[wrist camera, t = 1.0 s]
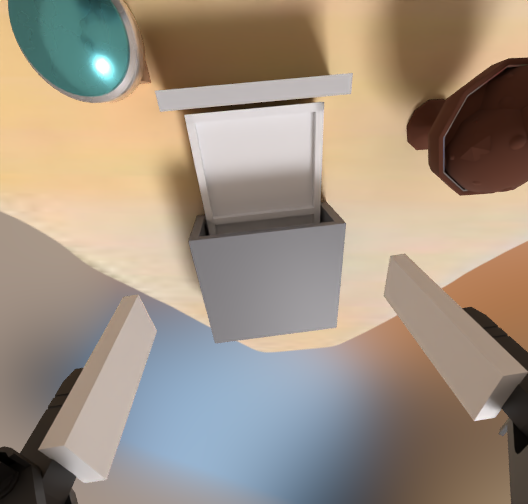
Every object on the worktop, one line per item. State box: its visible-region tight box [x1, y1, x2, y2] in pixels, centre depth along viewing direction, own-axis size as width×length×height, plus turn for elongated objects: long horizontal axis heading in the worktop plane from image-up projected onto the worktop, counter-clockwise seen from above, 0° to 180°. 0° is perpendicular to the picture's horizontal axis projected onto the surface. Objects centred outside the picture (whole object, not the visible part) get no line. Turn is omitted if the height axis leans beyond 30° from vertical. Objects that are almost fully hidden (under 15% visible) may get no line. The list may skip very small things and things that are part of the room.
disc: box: [8, 0, 145, 103], centre depth 19 cm, size 8×8×3 cm
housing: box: [188, 202, 346, 343], centre depth 34 cm, size 16×17×7 cm
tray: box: [155, 73, 353, 235], centre depth 28 cm, size 16×17×6 cm
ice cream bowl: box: [407, 58, 528, 196], centre depth 24 cm, size 11×11×15 cm
